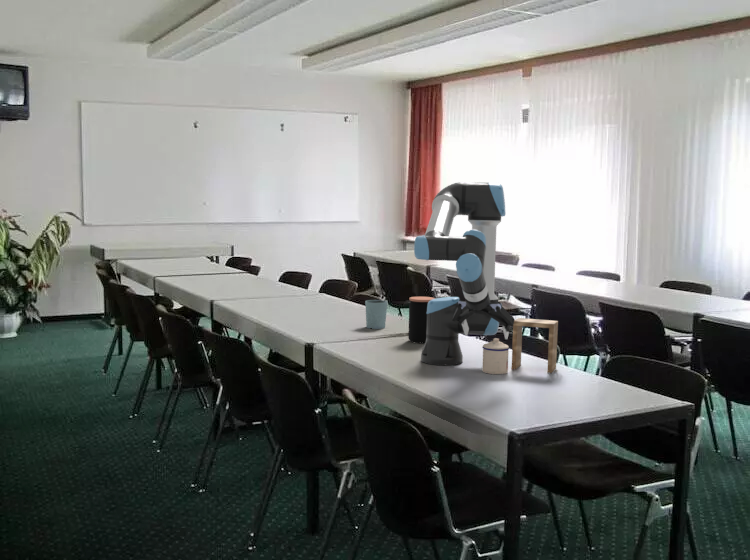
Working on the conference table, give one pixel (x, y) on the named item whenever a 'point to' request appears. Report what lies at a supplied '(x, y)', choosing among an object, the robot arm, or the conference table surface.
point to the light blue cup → (376, 313)
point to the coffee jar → (418, 318)
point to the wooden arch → (518, 340)
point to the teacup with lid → (495, 357)
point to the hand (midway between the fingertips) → (486, 334)
